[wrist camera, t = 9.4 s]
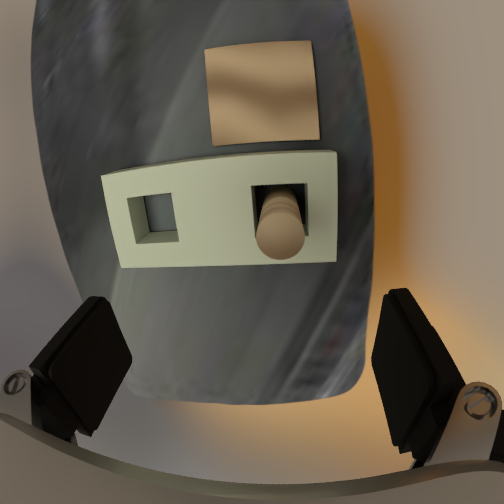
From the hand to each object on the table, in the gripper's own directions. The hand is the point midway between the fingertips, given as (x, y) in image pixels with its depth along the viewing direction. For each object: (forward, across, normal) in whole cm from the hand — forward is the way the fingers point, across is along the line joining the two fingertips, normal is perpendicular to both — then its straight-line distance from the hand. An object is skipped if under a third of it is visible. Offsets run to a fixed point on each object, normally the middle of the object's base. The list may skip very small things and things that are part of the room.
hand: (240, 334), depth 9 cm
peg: (+20, -1, +1) cm, 21 cm away
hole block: (+20, +5, +1) cm, 21 cm away
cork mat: (+21, 0, -10) cm, 23 cm away
